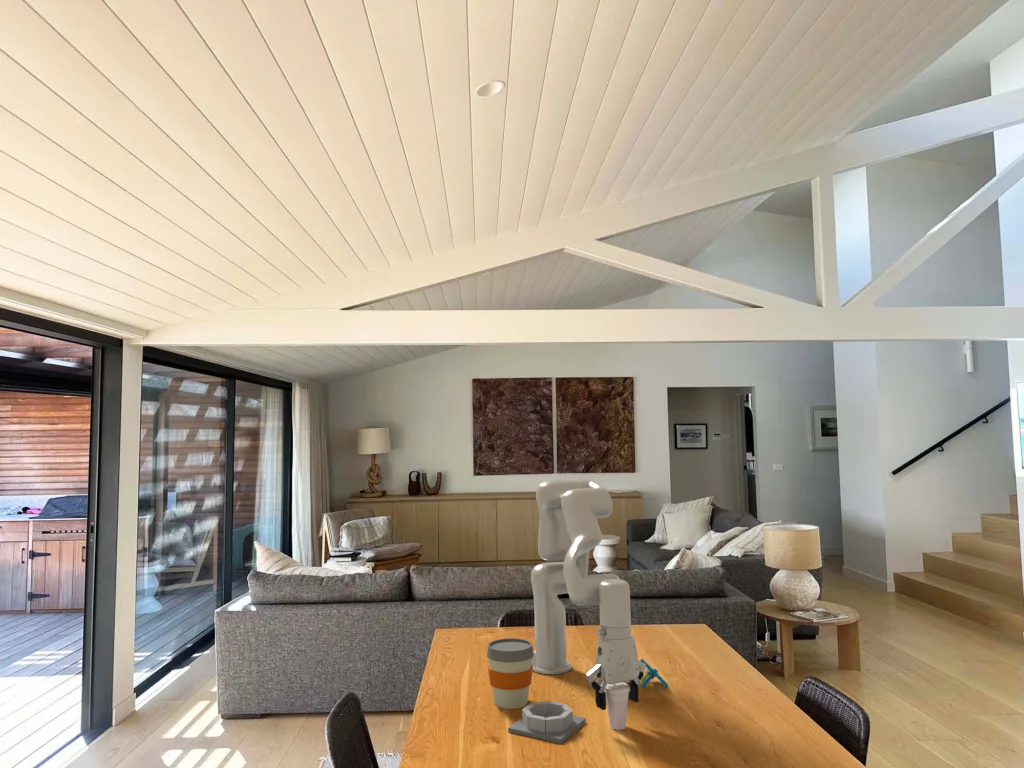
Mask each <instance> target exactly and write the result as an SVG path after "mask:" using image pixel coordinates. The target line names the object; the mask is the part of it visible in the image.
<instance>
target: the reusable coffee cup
mask: <svg viewBox="0 0 1024 768" xmlns="http://www.w3.org/2000/svg"><path fill="white" fill-rule="evenodd" d="M486 651H487V652H486V658H488V665H487V670H488V671H487V672H488V677H489V685H490V686H491V690H492V698H493V705H495V706H496V707H497V708H501V709H509V710H510V709H511V710H513V709H520V708H524V707H526V706H527V705H528V700H529V692H530V691H529V690H530V685H531V684H532V678H533V677H532V676H533V670H532V669H533V665H532V657H533V656H534V654H533V651H534V646H533V643H532V642H531V641H530V640H526V639H523V638H517V637H515V638H514V637H513V638H512V637H511V638H510V637H509V638H500V639H494V640H492V641H489V643H488V644H487V650H486Z"/></svg>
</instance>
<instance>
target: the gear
mask: <svg viewBox="0 0 1024 768" xmlns="http://www.w3.org/2000/svg"><path fill="white" fill-rule="evenodd" d="M639 661H641V662H643V663H645V664H646V670H645V671H644V675H643V677H642V679H641V680H640V681H641V682H642V683H640V686H642V687H643V688H645V687H646V686H647V685H648V683H650V681H652V680H654V679H655V678H656V679H657V680H659V681H660V683H661V684H662V685H663V686H665V687H666V688H668V687H669V684H668V683H667V681H666V680H664V679H663V677H662V676H660V675H659V673H658V672H659V671H658V670H657V669H656V668H652V666H651V665H649V664H648V662H646V660H644V659H643V658H641V659H640V660H639Z"/></svg>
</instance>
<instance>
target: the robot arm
mask: <svg viewBox="0 0 1024 768" xmlns="http://www.w3.org/2000/svg"><path fill="white" fill-rule="evenodd" d="M535 499H536V505H537V509H538V515H539V520H538V521H539V523H538V537H537V538H538V539H537V551H538V555H539V557H540V558H541V559H542V560H543V561H547V562H543V563H538V564H537V565H536V566H534V567H532V570H531V573H530V581H531V587H532V593H533V605H534V608H533V610H534V611H533V612H534V650H533V654H534V656H533V657H532V665H533V669H532V672H534V673H538V674H542V675H561V674H565V673H568V672H570V671H571V670H572V668H571V667H572V662H570V661H569V660H567V629H566V628H567V627H566V625H567V624H566V622H567V621H566V619H567V618H566V608H565V606H564V604H563V602H562V601H561V600H560V599H559V597H558V595H564V594H568V597H569V599H570V600H571V602H572V603H573V605H575V606H578V607H590V606H598V607H599V629H597V630H596V635H597V636H598V639H597V646H596V653H595V654H596V656H595V665H594V666H593V668H592V669H590V670H589V671H588V672H587V673H586V674H585V677H586V680H587V682H588V685H589V686H590V687H591V688H592V689H593V690H594V691H595V693H594V694H595V695H594V696H595V706H596V708H598V709H600V710H602V711H605V710H607V702H606V693H605V691H604V690H605V688H606V686H607V684H617V683H621V682H623V683H626V682H628V683H627V684H628V685H629V686H630V692H629V693H628V700H631V701H633V702H635V703H639V686H641V684H642V683H641V682H642V680H641V679H642V678H643V677H644V676H645V672H646V669H647V667H646V664H645V663H643V662H641V661H640V660H639V656H638V648H637V644H636V641H635V637H634V636H633V635H632V629H631V628H632V624H631V622H632V621H631V619H632V618H631V589H630V584H629V582H628V581H626V580H624V579H621V578H620V577H619V576H618V575H617V574H615V573H602V574H600V573H599V574H597V573H596V574H588V573H589V563H590V562H589V561H590V551H592V550H593V549H595V548H596V547H597V546H599V545H600V544H601V542H602V539H603V534H602V530H601V527H600V525H599V522H598V519H604V518H608V517H610V516H611V514H612V512H613V506H614V503H613V500H612V496H611V495H610V493H609V492H608V490H607V489H606V488H605V487H603V486H602V485H600V484H598V483H596V482H594V481H592V480H589V479H575V480H573V479H570V480H567V479H565V480H561V479H560V480H557V479H556V480H547V481H542V482H541V483H539V484H538V486H537V489H536V492H535ZM548 561H549V562H548ZM555 561H556V562H555ZM569 670H570V671H569ZM595 677H596V679H595Z"/></svg>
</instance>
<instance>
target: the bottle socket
mask: <svg viewBox="0 0 1024 768" xmlns="http://www.w3.org/2000/svg"><path fill="white" fill-rule="evenodd" d="M521 711H522V712H521V713H522V715H521V716H522V717H521V718H519V719H518V720H517V721H515V722H514V723H512V724H511V725H510V726H509V727H508V728H507V731H508V733H512V734H515V735H519V736H525V737H529V738H532V739H533V738H534V739H539V740H543V741H548V742H552V743H555V744H560V745H561V744H562V743H564V742H565V741H566V740H567V739H569V738H570V736H572V735H573V734H574V733H576V731H578V729H580V728H581V727H582V726H583V725H584V724H585V723H586V722H587V721H586V717H582V716H578V715H577V716H576V715H573V714H574V713H573V710H572V708H571V707H570V706H568V705H567V704H566V703H562V702H556V701H554V700H553V701H551V700H543V701H535V702H530V703H529V704H526V705H525V706H523V707H522V710H521Z"/></svg>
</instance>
